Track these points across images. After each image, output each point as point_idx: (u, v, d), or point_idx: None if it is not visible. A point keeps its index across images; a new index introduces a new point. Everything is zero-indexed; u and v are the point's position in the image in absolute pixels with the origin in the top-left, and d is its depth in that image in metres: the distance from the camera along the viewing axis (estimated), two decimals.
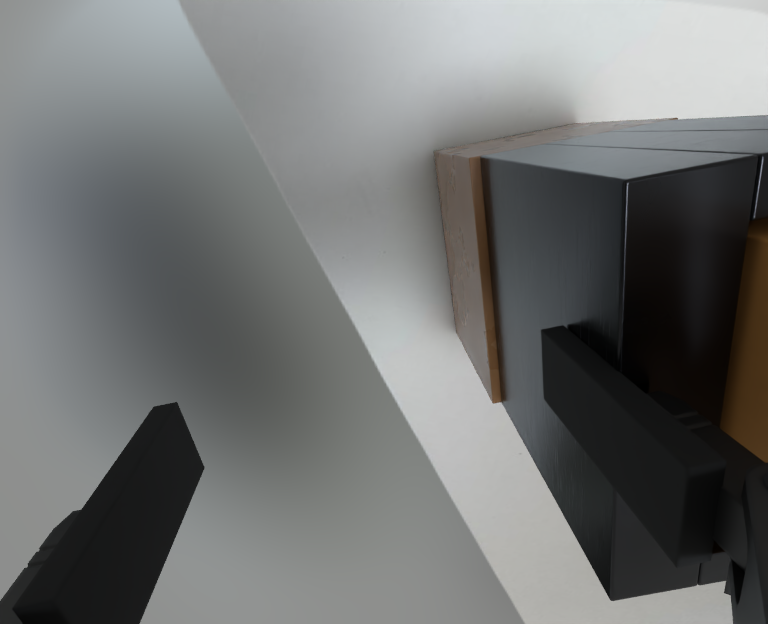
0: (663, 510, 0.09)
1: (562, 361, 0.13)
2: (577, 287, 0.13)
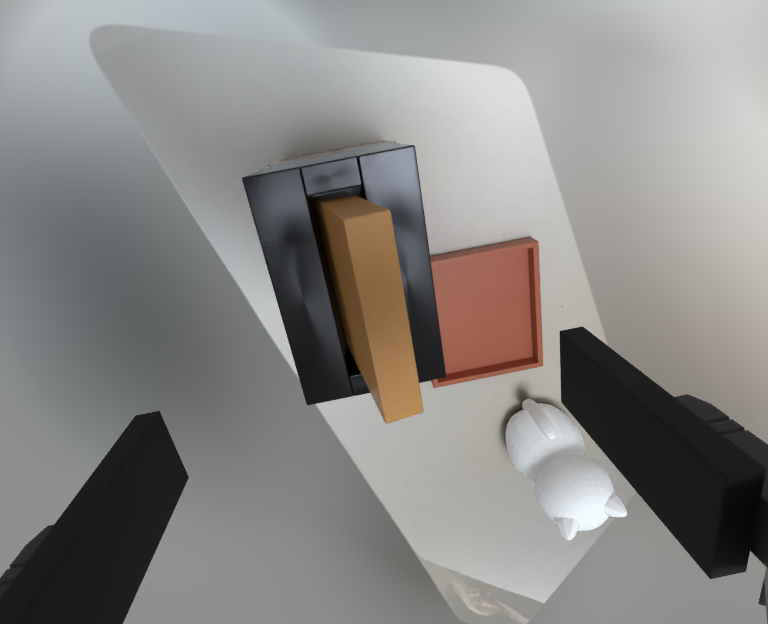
0: (696, 519, 0.09)
1: (583, 363, 0.13)
2: None
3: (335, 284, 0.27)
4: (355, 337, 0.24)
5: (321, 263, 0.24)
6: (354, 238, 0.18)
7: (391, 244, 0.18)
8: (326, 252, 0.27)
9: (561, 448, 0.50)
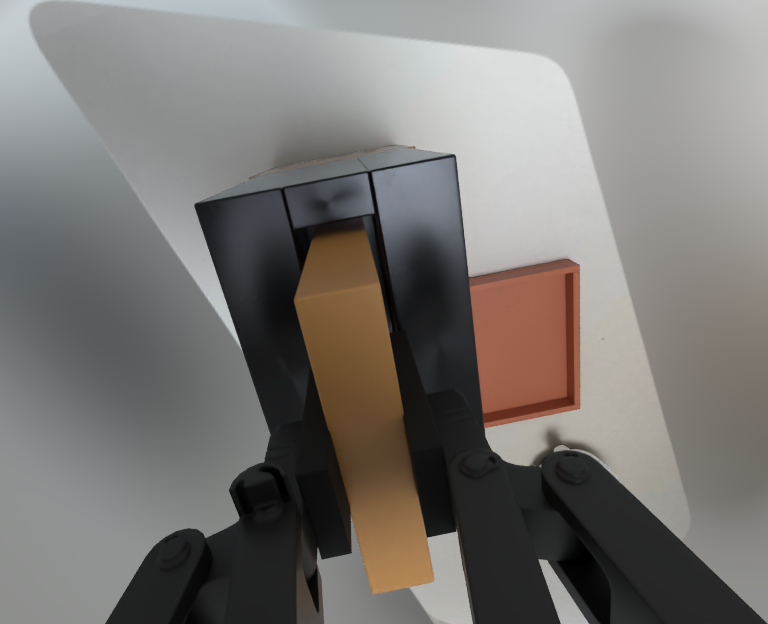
0: (417, 489, 0.11)
1: None
2: None
3: None
4: None
5: None
6: (315, 330, 0.10)
7: (381, 340, 0.10)
8: None
9: None
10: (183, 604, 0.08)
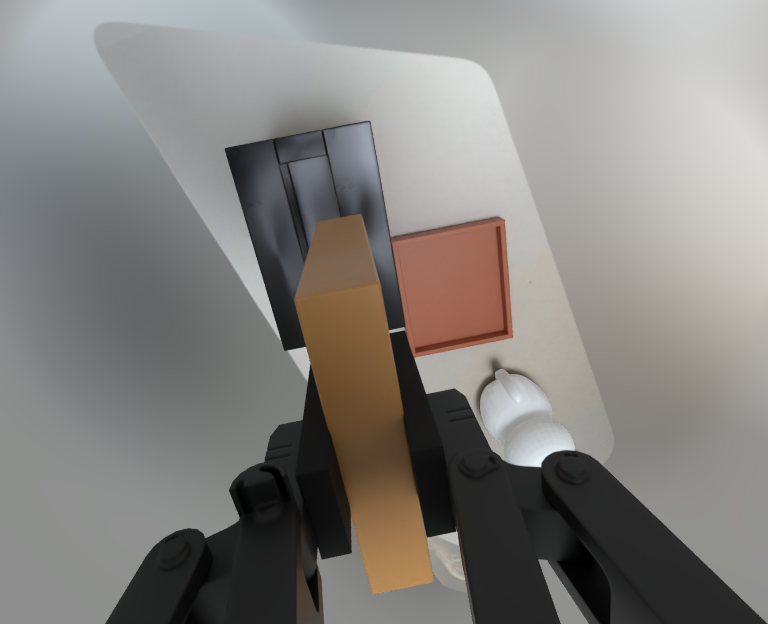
0: (417, 489, 0.11)
1: None
2: None
3: None
4: None
5: (293, 223, 0.28)
6: (315, 329, 0.10)
7: (381, 340, 0.10)
8: None
9: (528, 412, 0.54)
10: (183, 604, 0.08)
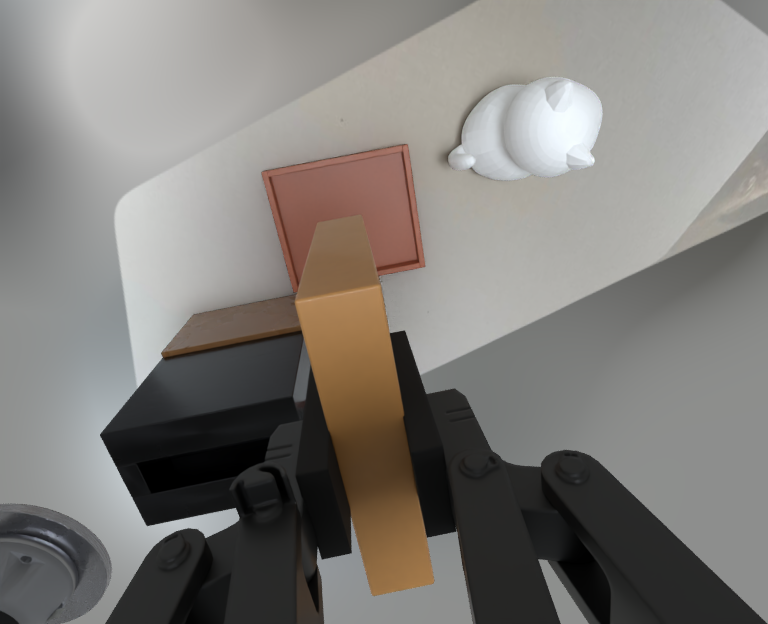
0: (417, 488, 0.11)
1: None
2: None
3: None
4: None
5: (199, 484, 0.34)
6: (315, 331, 0.10)
7: (382, 342, 0.10)
8: None
9: (499, 135, 0.40)
10: (183, 604, 0.08)
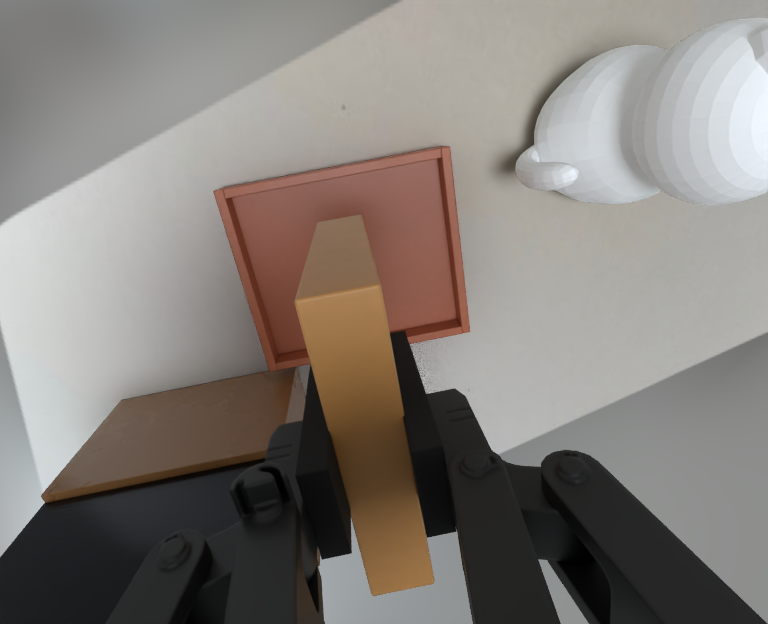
0: (417, 489, 0.11)
1: None
2: None
3: None
4: None
5: None
6: (315, 331, 0.10)
7: (382, 341, 0.10)
8: None
9: (616, 130, 0.23)
10: (183, 604, 0.08)
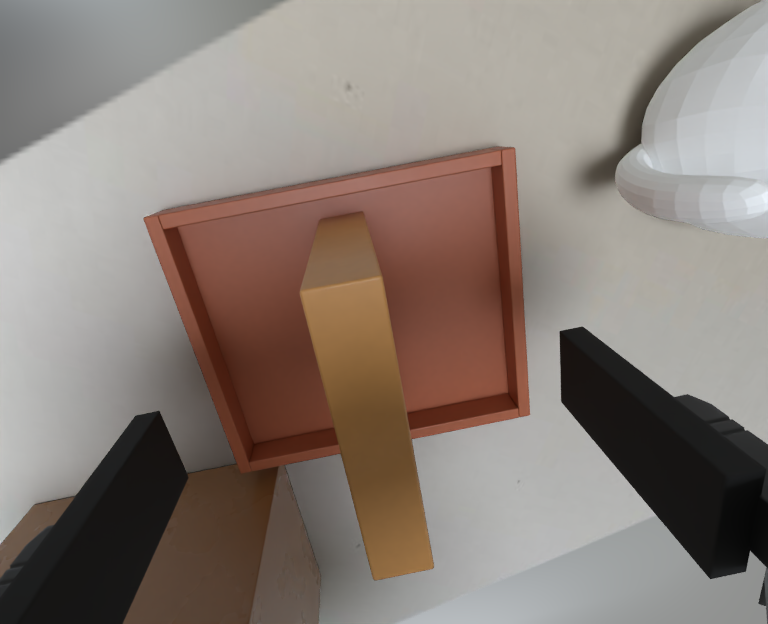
0: (696, 519, 0.09)
1: (584, 363, 0.13)
2: None
3: None
4: None
5: None
6: (320, 321, 0.11)
7: (383, 331, 0.11)
8: None
9: None
10: None
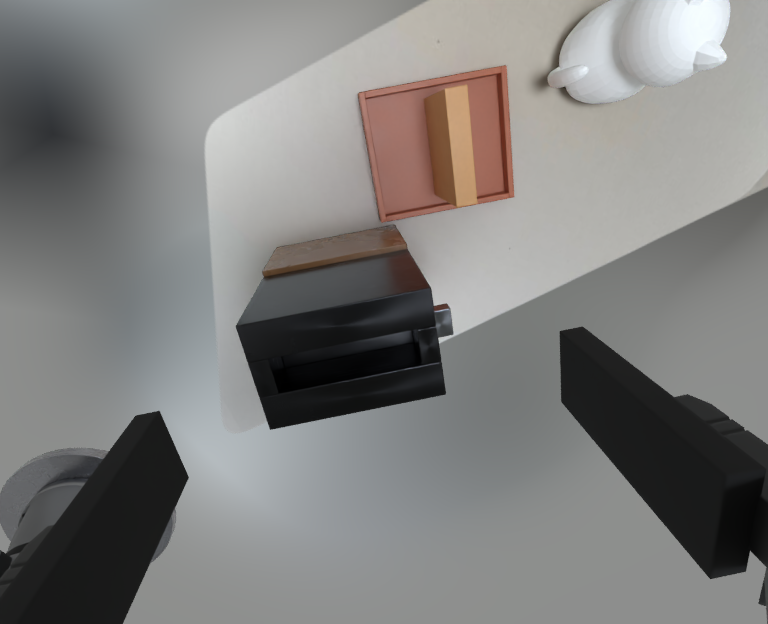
0: (696, 519, 0.09)
1: (583, 363, 0.13)
2: None
3: (432, 150, 0.46)
4: (443, 172, 0.43)
5: (327, 384, 0.33)
6: (449, 98, 0.37)
7: (466, 103, 0.37)
8: (428, 132, 0.47)
9: (610, 46, 0.40)
10: None
